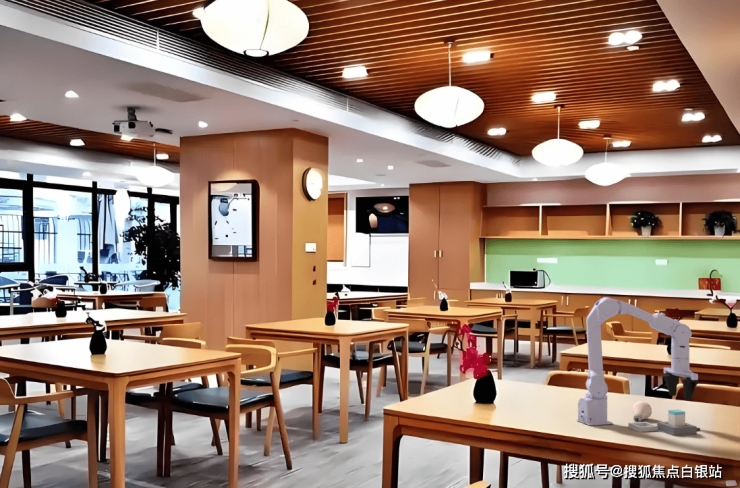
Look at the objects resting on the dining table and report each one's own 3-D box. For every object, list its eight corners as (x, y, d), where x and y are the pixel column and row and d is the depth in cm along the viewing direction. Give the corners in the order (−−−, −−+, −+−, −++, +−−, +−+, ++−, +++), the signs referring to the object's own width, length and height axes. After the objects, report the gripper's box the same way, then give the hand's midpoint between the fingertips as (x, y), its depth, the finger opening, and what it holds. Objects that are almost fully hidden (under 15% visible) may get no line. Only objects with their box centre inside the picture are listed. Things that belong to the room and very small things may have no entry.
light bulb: (643, 410, 239) (651, 397, 248) (624, 411, 243) (632, 398, 252) (648, 428, 240) (656, 414, 248) (630, 428, 244) (637, 415, 252)
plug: (674, 433, 227) (674, 412, 227) (668, 431, 230) (668, 410, 230) (685, 432, 228) (685, 411, 228) (678, 430, 231) (678, 409, 231)
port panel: (673, 435, 224) (673, 427, 224) (657, 429, 231) (657, 422, 231) (708, 433, 227) (708, 425, 227) (691, 427, 235) (691, 420, 235)
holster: (640, 431, 228) (640, 427, 228) (628, 427, 234) (628, 422, 234) (658, 430, 230) (658, 426, 230) (645, 426, 236) (645, 421, 236)
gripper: (705, 360, 231) (705, 401, 230) (675, 354, 245) (675, 393, 244) (687, 361, 229) (687, 402, 229) (658, 355, 243) (658, 393, 243)
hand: (680, 397), depth 236 cm, fingers open, 7 cm apart
